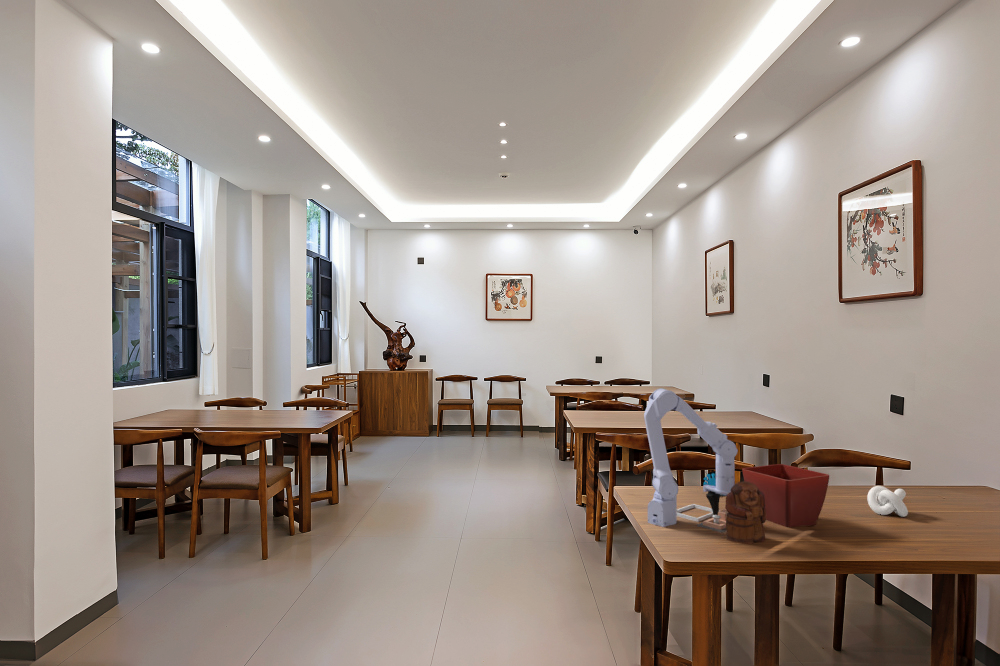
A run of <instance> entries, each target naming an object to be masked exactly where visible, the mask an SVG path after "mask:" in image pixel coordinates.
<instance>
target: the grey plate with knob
mask: <svg viewBox="0 0 1000 666" xmlns="http://www.w3.org/2000/svg"><path fill="white" fill-rule="evenodd" d="M712 518H714V523H715V524H719V519H720V518H721V516H719V515H713V516H712ZM719 525H720V524H719ZM695 526H697V527H700V528H703V529H708V530H710V531H714V532H718V533H723V534H724V533H725V532H726V528H724V529H722V530H719V529H715V528H712V527H708V526H704V525H703V522H700V523H698V524H695Z"/></svg>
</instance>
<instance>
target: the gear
mask: <svg viewBox="0 0 1000 666" xmlns="http://www.w3.org/2000/svg"><path fill="white" fill-rule="evenodd" d="M703 480H704V482H703V486H704V485H711V486H716V473H714V472H712V473H711V474H710V473H707V474H706V475H705V477H704V478H703ZM722 496H723V497H726V496H725V495H722ZM720 497H721V494H720Z"/></svg>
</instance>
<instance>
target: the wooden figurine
mask: <svg viewBox="0 0 1000 666" xmlns="http://www.w3.org/2000/svg"><path fill="white" fill-rule="evenodd" d="M725 510H727V512H728V514H727V517H726V531H725V532H726V539H727V541H729V542H732V543H736V544H744V545H745V544H746V545H751V544H752V545H753V544H754V543H759V542H760V543H761V542H762V543H763V542H765V541H766V534H765V527H764V524H765V522H766V521H767V520H766V509H765V497H764V494H763V493H762V492H761V491H759V489H758V488H757V486H756V485H754V484H753V483H750V482H746V481H744V480H743V481H739V482H736V483H735V485H734V486H733V487H732V488H731V492H730V493H728V494H727V496H725Z"/></svg>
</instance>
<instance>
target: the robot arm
mask: <svg viewBox="0 0 1000 666" xmlns="http://www.w3.org/2000/svg"><path fill="white" fill-rule="evenodd" d="M670 411H676V412H679V413H680V414H682V416H684V417H685V418H686V419H687V420H688V421H689V422H690V423H691V424H692V425H693V426H695V428H696V429H697V431H696V432H697V435H698V436H700V437H701V438H702V439H703V440H704V441H705V442H706V444H708V445H709V446H710V447H711V448H712V451H713V452H714V453H715V478H716V486H711V485H704V484H703V486H702V491H703V492H705V493H706V494H705V497H706V499H707V500H708V502H709V504H710V506H711V507H710V508H712V511H713V515H718V512H719V510H720V500H721V499H720V497H721V496H720V494H721V495H722V496H723V495H725V496H724V497H726V496H727V494H728V493H730V492H731V488H732V487H733V486H734V485H735V484H736V483H735V481H736V479H735V478H736V477H735V473H736V472H735V469H736V468H735V467H736V466H735V465H736V464H735V457H736V456H737V455H738V448H737V446H736V444H735V443H734V441H732V440H730V439H728V435H727V434H725V433H723V432H722V431H720V430H719V428H717V427H718V425H717V424H716V423H715V422H711V421H705V420H704V419H703V418H702V417H700V415H699V414H698V413H697V412H696V410H695V409H693V408H692V407H691V406H690V404H688V403H687V402H686V401H685V399H683V398H681V396H678V395H677V394H676V393H675V391H672V390H668V389H666V388H662V387H661V388H656V389H655V390H654V391H653V392H652V393H651V394H650V395H649V397H648V403H647V405H646V408H645V410H644V413H643V418H644V425H645V429H646V430H645V431H646V434H647V439H648V443H649V444H648V445H649V449H650V450H649V451H650V456H651V459H652V464H653V465H652V466H653V470H652V474H653V476H652V477H653V478H652V483H651V484H652V487H653V489H654V490H655V491H654V493H653V498H652V499H651V500H650V501H649V502H648V504H647V523H648V524H651V525H655V526H659V527H662V528H665V527H668V526H673V525H676V524H677V520H678V516H677V509H678V507H677V506H678V504H677V495H678V494H679V485H678V484H677V483H676V481H675V479H674V475H673V473H672V471H671V467H670V463H669V458H668V454H667V453H668V452H667V447H666V442H665V438H664V437H665V436H664V432H663V427H662V422H661V421H662V419H663V418H664V416H665V415H666V414H667V413H669V412H670Z"/></svg>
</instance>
